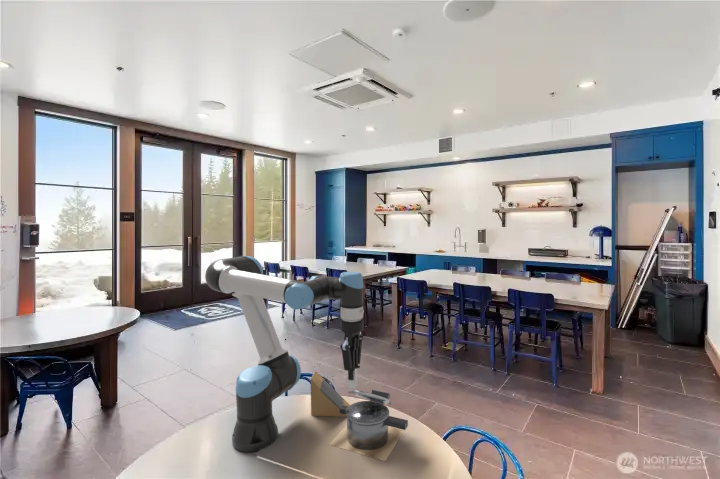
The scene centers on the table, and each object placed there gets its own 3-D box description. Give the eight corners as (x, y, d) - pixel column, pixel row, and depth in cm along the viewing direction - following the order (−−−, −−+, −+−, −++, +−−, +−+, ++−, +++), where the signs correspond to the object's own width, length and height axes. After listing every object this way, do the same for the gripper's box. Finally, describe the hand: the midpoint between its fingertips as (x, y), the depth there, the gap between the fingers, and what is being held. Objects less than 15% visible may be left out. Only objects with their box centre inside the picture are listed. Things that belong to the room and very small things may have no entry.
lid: (341, 389, 123) (343, 381, 125) (358, 397, 135) (359, 390, 136) (381, 398, 117) (383, 389, 118) (395, 405, 129) (396, 398, 130)
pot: (331, 441, 123) (330, 415, 123) (352, 418, 137) (351, 395, 137) (399, 461, 113) (398, 433, 112) (414, 434, 127) (414, 408, 127)
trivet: (328, 446, 122) (328, 444, 122) (353, 419, 138) (353, 417, 138) (385, 463, 113) (385, 461, 113) (404, 432, 129) (404, 430, 129)
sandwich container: (351, 418, 139) (350, 380, 138) (310, 417, 140) (310, 379, 139) (353, 407, 147) (352, 370, 146) (315, 406, 148) (314, 369, 147)
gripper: (353, 325, 115) (354, 398, 116) (370, 315, 127) (370, 381, 128) (332, 322, 118) (333, 394, 119) (350, 312, 130) (351, 378, 131)
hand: (352, 387), depth 124 cm, fingers closed
